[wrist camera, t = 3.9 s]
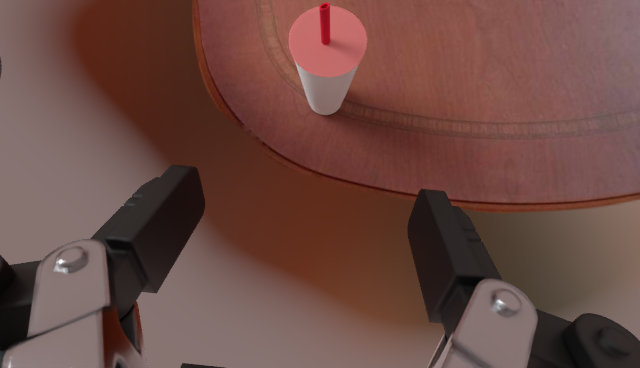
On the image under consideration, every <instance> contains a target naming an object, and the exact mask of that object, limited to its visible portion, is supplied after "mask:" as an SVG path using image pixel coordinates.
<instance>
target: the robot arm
mask: <svg viewBox="0 0 640 368" xmlns="http://www.w3.org/2000/svg"><path fill="white" fill-rule="evenodd" d="M204 209H205V199H204V195H203V190H202V186H201V181H200V177H199V173H198V170H197V168H196V167H192V166H181V165H172V166H170V167H169V168H168V169H167V170H166V172H165V173H164V174H163V175H162V176H161V177H160V178H159V177H156V178H154V179H152V180H151V181H149V182H147V183H145V184H144V185H142V186H141V187H140V188H139V189H138V190H137V192H135V193H134V194H133V196H132V198H130V199H128V201H127V202H126V203H125V204H124V206H122V207H121V208H120V209H119V210H118V211H117V212H116V213H115V214H114V215H113V216H112V217H111V218H110V219H109V220H108V221H107V222H106V223H105V224H104V225H103V226H102V227H101V228H100V229H99V230H98V231H97V232H96V233H95V234H94V235H93V237H92V238H91V239H83V240H77V241H73V242H71V243H68V244H65V245H63V246H61V247H59V248H57V249H56V250H54V251H53V252H51V253H50V254H49V255H47V256H46V257H45V258H44V259H43V260H41V261H34V262H27V263H21V264H14V265H9V264H8V263H7V262H6V261H5V260H4V258H2V256H1V255H0V368H149V365H148V362H147V358H146V353H145V346H144V340H143V334H142V328H141V322H140V315H139V309H138V304H137V302H136V300H137V298H138V296H139V295H140V293H141V292H149V293H157V292H158V290H159V288H160V287H161V285H162V283H163V282H164V280H165V278H166V277H167V275H168V273H169V271H170V270H171V268H172V266H173V265H174V263H175V261H176V260H177V258H178V256H179V255H180V253H181V251H182V250H183V248H184V246H185V244H186V243H187V241H188V239H189V238H190V236H191V234H192V233H193V230H194V229H195V228H196V226H197V224H198V223H199V221H200V219H201V218H202V216H203V213H204ZM408 239H409V242H410V246H411V251H412V254H413V259H414V262H415V266H416V270H417V275H418V279H419V283H420V287H421V291H422V294H423V298H424V302H425V306H426V310H427V314H428V318H429V322H435V323H443V326H444V330H445V334H444V335H443V337H442V339H441V341H440V343H439V345H438V347H437V349H436V351H435V353H434V354H433V357H432V358H431V360H430V362H429V365H428V366H427V368H640V341H639V340H638V339H637V338H636V337H635V336H634V335H633V334H632V333H631V332H629V331H628V330H627V329H625V328H624V327H622V326H621V325H619V324H618V323H616V322H614V321H612V320H610V319H608V318H606V317H603V316H601V315H597V314H591V313H587V314H582V315H580V316H579V317H578V318H577V319H575V320H574V321H573V322H570V321H567V320H564V319H562V318H559V317H556V316H554V315H551V314H548V313H546V312H543V311H540V310H538V309H535V307H534V306H533V304H532V302H531V301H530V300H529V298H527V296H526V295H525V294H524V293H522V292H521V291H520V290H519V289H517V288H516V287H514V286H513V285H511V284H509V283H507V282H504V281H503V280H502V278H501V276H500V275H499V273H498V271H497V269H496V267H495V265H494V263H493V261H492V260H491V258H490V256H489V254H488V252H487V250H486V248H485V246H484V244H483V242H481V239H480V237H479V235H478V233H477V232H476V231H475V227H474V225H473V224H472V222H471V220H470V218H469V217H468V216H467V215H466V214H465V213H464V212H463V211H462V210H461V209H460V208H459V207H456V206H452V205H451V203H450V201H449V199H448V197H447V195H446V193H445V192H444V191H438V190H428V189H421V190H420V191H419V193H418V196H417V199H416V202H415V204H414V208H413V210H412V213H411V216H410V219H409V222H408ZM181 368H224V367H214V366H204V365H194V364H185V363H183V364H182V366H181Z"/></svg>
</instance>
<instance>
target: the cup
mask: <svg viewBox="0 0 640 368" xmlns="http://www.w3.org/2000/svg"><path fill="white" fill-rule="evenodd" d="M366 48H367V35H366V31H365V29H364V26H363V25H362V23H361V22H360V20H359V19H358V18H357V17H356V16H355V15H354V14H352V13H351V12H349V11H348V10H346V9H343V8H340V7H336V6H330V4H329V3H324V4H322V5H321V6H319V7H315V8H312V9H310V10H308V11H306V12H305V13H303V14H302V15H301V16H300V17H299V18H298V19H297V20H296V21H295V22H294V24H293V26H292V28H291V30H290V34H289V49H290V52H291V55H292V57H293V58H294V60H295V62H296V65H297V69H298V72H299V75H300V78H301V81H302V84H303V87H304V91H305V94H306V97H307V99H308V102H309V105H310V107H311V108H312V110H313V111H315V112H316V113H318V114H321V115H330V114H333V113H335V112H336V111H337V110H338V109H339V108H340V106H341V104H342V102H343V100H344V98H345V95H346V93H347V91H348V88H349V86H350V84H351V81H352V79H353V76H354V74H355V72H356V69H357V67H358V64H359V63H360V62H361V60H362V59H363V57H364V55H365V52H366Z"/></svg>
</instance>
